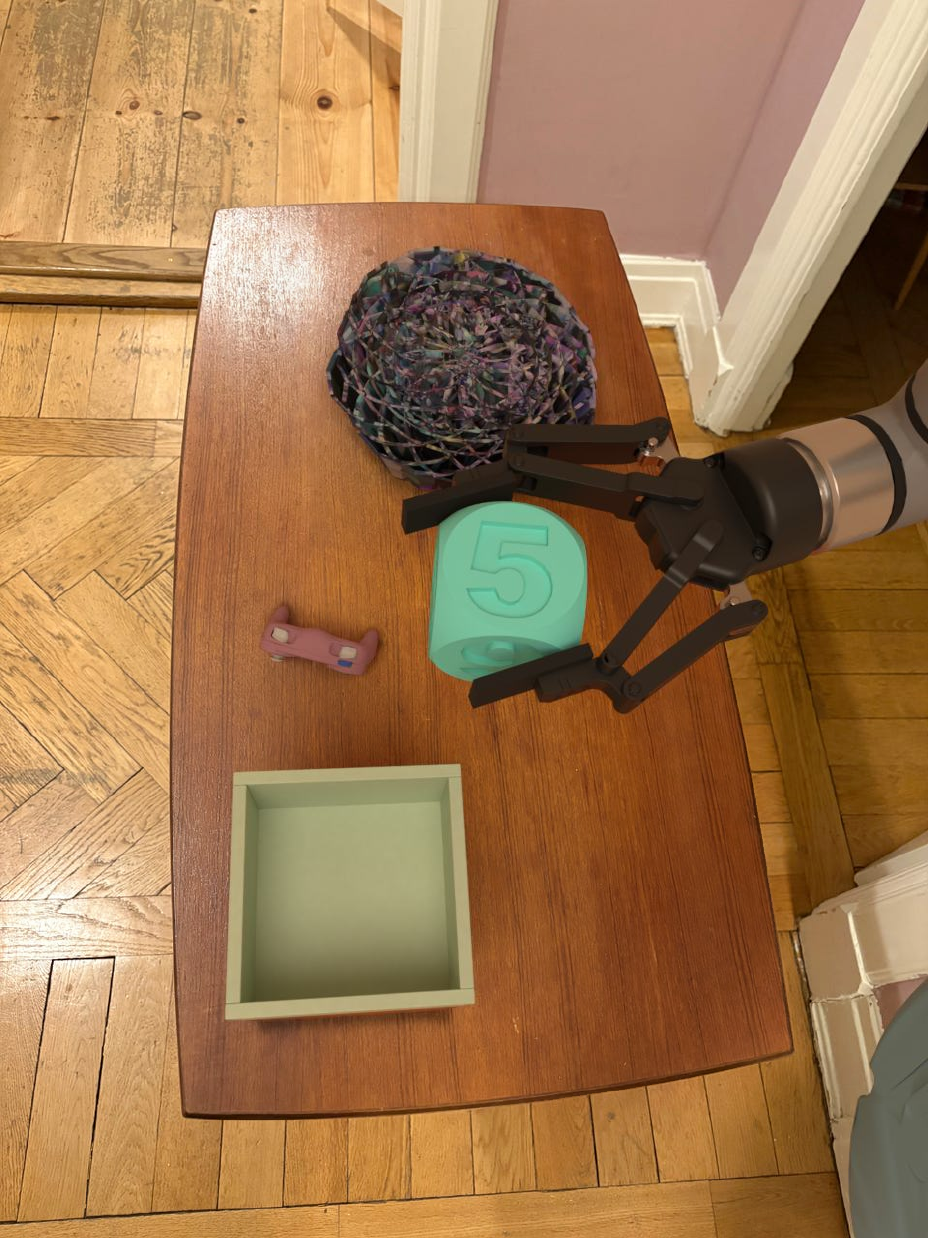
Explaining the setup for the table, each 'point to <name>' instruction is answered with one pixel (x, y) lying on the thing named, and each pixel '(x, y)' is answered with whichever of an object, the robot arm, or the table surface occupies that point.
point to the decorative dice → (504, 588)
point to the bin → (348, 892)
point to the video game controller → (317, 645)
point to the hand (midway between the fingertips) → (437, 603)
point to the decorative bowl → (457, 361)
